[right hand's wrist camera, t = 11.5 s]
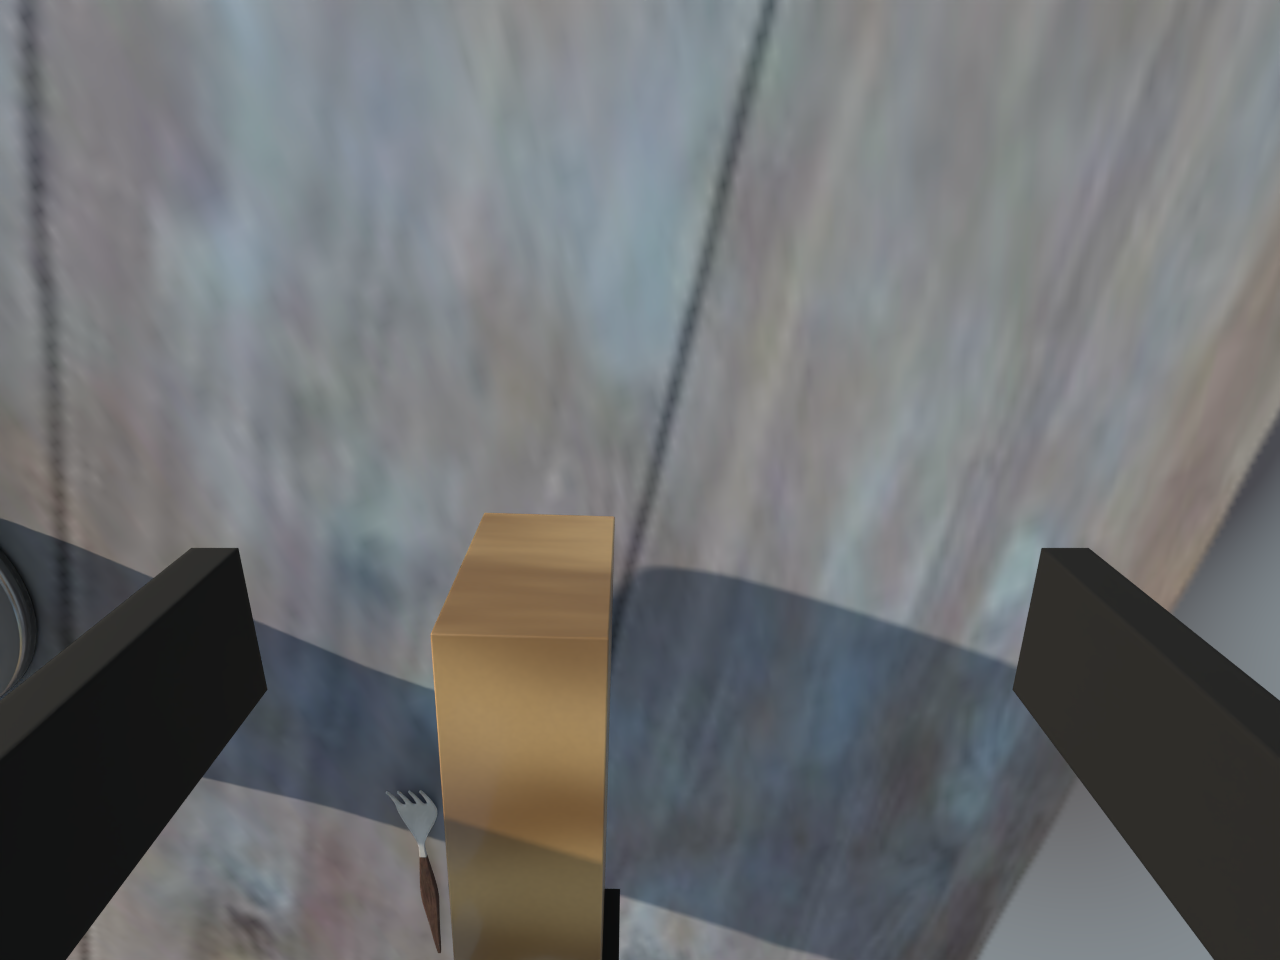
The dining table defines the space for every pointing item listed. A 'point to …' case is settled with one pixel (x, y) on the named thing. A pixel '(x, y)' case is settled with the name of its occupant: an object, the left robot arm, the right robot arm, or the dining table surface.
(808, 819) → the dining table surface
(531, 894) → the bar
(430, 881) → the fork
